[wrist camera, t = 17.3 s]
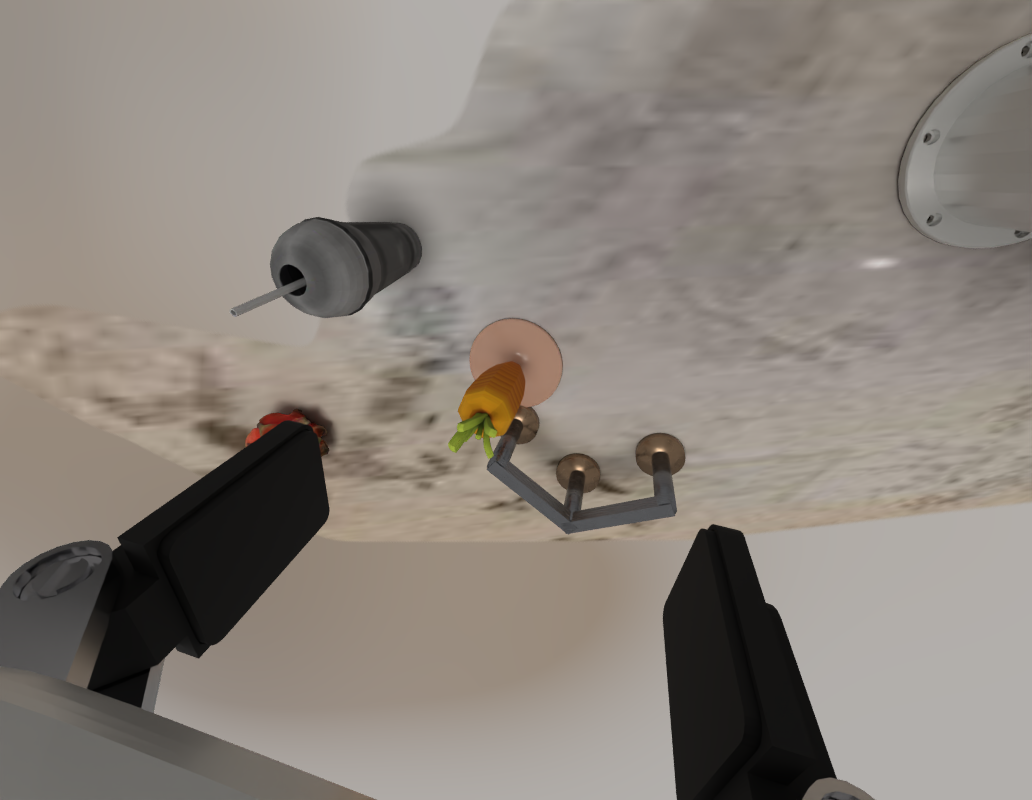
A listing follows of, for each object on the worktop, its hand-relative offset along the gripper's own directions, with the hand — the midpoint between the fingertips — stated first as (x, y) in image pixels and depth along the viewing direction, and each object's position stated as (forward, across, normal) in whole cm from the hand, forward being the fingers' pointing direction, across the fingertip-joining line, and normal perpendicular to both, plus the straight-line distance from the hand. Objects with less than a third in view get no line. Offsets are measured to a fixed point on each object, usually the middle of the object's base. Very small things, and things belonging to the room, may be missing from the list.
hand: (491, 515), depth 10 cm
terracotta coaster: (+32, +6, +11) cm, 35 cm away
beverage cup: (+32, +19, +1) cm, 38 cm away
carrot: (+32, +6, +11) cm, 34 cm away
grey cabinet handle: (+32, -3, +21) cm, 38 cm away
